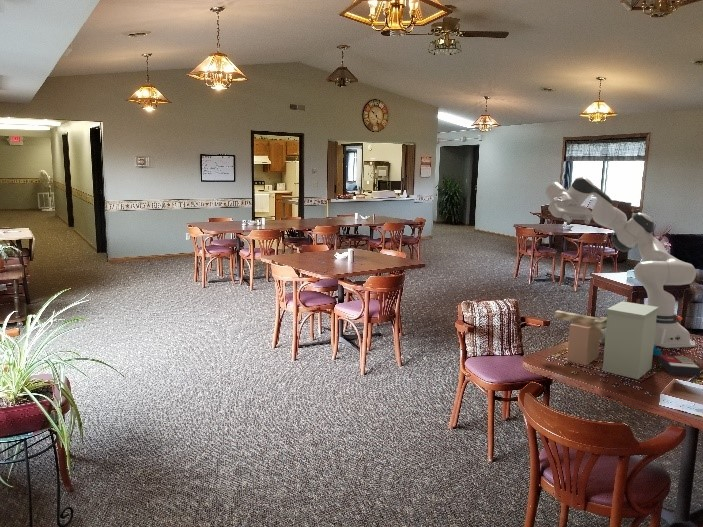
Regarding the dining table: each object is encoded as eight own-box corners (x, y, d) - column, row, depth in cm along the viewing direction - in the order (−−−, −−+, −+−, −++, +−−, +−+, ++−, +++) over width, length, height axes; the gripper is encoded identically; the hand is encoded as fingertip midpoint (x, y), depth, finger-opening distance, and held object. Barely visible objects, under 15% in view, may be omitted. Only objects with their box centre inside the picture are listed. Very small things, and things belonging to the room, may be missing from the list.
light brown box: (567, 360, 232) (569, 324, 229) (580, 352, 242) (582, 318, 239) (585, 365, 227) (588, 328, 224) (598, 357, 237) (601, 321, 234)
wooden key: (550, 319, 237) (551, 313, 236) (560, 315, 244) (561, 308, 244) (600, 329, 223) (600, 322, 222) (609, 324, 230) (609, 317, 229)
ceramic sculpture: (599, 321, 260) (634, 327, 253) (596, 338, 262) (631, 345, 255) (598, 327, 251) (634, 333, 244) (595, 345, 252) (631, 352, 246)
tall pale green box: (601, 370, 220) (606, 308, 216) (616, 359, 233) (622, 301, 229) (638, 379, 211) (644, 315, 206) (652, 368, 223) (658, 307, 219)
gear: (667, 355, 234) (653, 340, 231) (659, 366, 233) (646, 351, 230) (646, 350, 244) (633, 336, 242) (639, 361, 243) (626, 346, 241)
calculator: (687, 355, 228) (701, 366, 214) (686, 365, 229) (700, 377, 214) (658, 353, 231) (670, 364, 216) (657, 363, 232) (669, 374, 217)
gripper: (581, 212, 263) (595, 229, 253) (544, 208, 258) (557, 225, 248) (587, 201, 259) (601, 218, 249) (550, 197, 254) (563, 214, 244)
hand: (579, 222), depth 248 cm, fingers open, 8 cm apart
